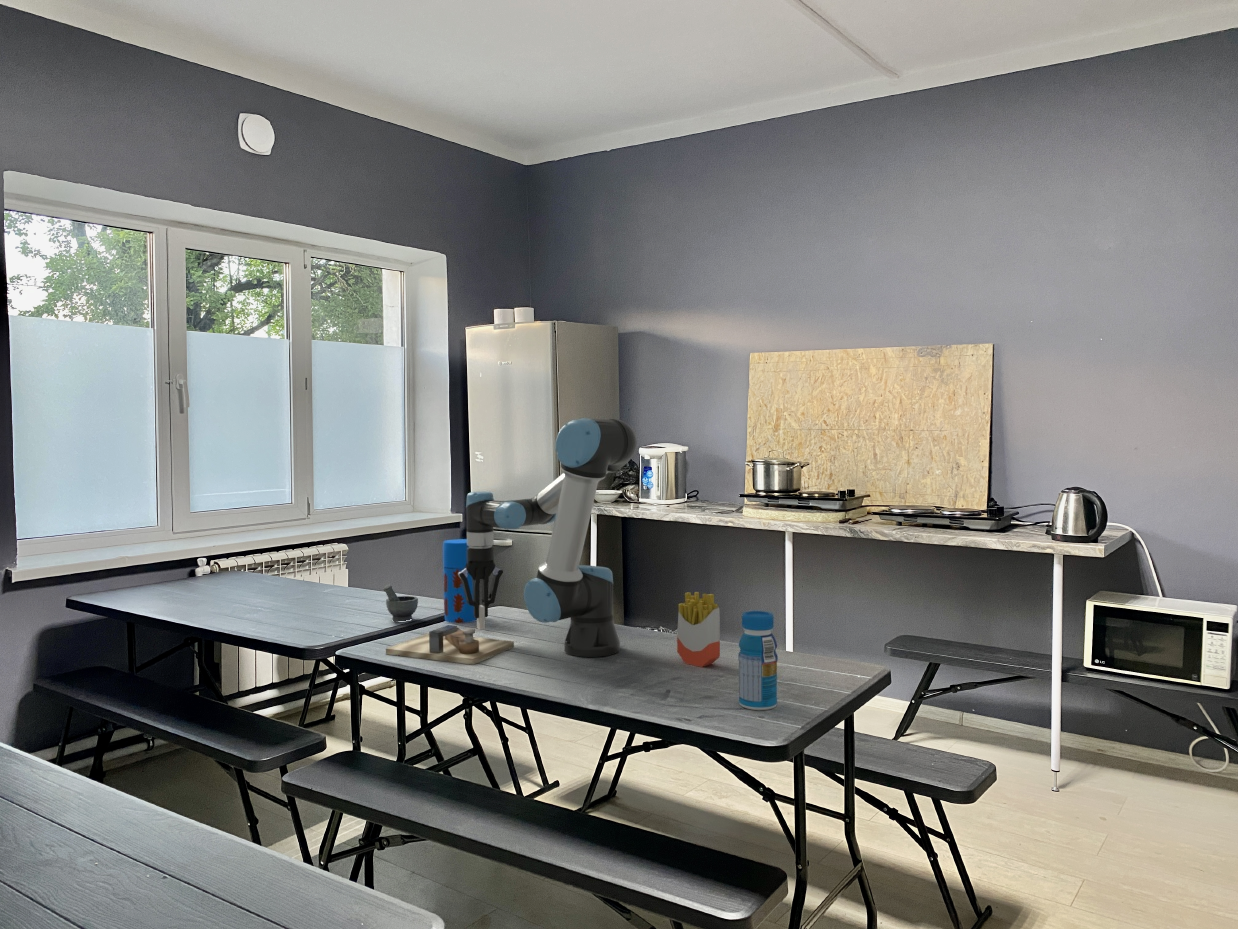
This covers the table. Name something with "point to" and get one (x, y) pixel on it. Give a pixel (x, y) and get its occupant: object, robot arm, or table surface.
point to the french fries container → (698, 630)
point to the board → (449, 650)
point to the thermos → (456, 582)
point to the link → (464, 641)
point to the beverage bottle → (757, 662)
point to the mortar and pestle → (400, 605)
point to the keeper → (439, 638)
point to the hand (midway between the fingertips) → (480, 628)
